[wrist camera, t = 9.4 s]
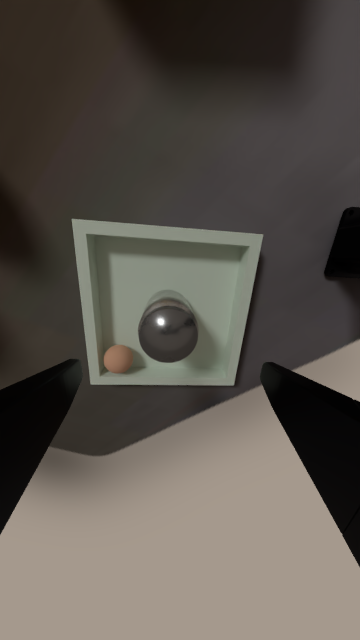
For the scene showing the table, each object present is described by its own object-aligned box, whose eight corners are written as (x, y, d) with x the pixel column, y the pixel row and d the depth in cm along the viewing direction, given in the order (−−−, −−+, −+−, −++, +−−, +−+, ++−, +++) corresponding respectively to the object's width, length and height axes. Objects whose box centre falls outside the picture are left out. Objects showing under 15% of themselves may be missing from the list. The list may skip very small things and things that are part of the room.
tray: (250, 237, 18) (263, 234, 16) (227, 372, 24) (233, 385, 21) (84, 223, 17) (71, 218, 15) (98, 370, 22) (90, 384, 20)
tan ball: (135, 340, 21) (130, 353, 18) (135, 363, 22) (130, 379, 19) (107, 339, 20) (98, 353, 18) (109, 362, 21) (100, 379, 19)
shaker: (192, 290, 19) (203, 307, 13) (188, 332, 21) (197, 365, 15) (145, 288, 19) (135, 304, 13) (145, 331, 20) (136, 364, 14)
